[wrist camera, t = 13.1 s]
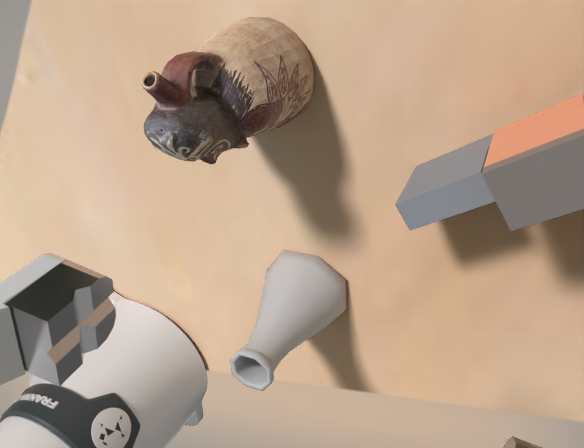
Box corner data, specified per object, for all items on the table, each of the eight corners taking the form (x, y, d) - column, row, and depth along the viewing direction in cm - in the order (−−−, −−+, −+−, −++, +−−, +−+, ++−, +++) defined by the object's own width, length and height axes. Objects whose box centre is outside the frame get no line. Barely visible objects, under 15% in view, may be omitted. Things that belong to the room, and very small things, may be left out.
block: (518, 179, 29) (510, 231, 25) (494, 130, 29) (481, 174, 24) (606, 148, 27) (616, 199, 22) (582, 93, 26) (587, 133, 21)
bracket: (429, 190, 34) (409, 230, 30) (416, 166, 34) (395, 204, 29) (733, 73, 25) (769, 107, 21) (720, 39, 24) (755, 67, 20)
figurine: (223, 114, 38) (111, 182, 28) (216, 10, 34) (86, 48, 25) (314, 129, 35) (226, 209, 26) (317, 19, 32) (216, 65, 22)
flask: (259, 298, 45) (197, 379, 38) (277, 234, 41) (211, 310, 33) (335, 336, 44) (286, 429, 36) (361, 274, 40) (312, 363, 32)
